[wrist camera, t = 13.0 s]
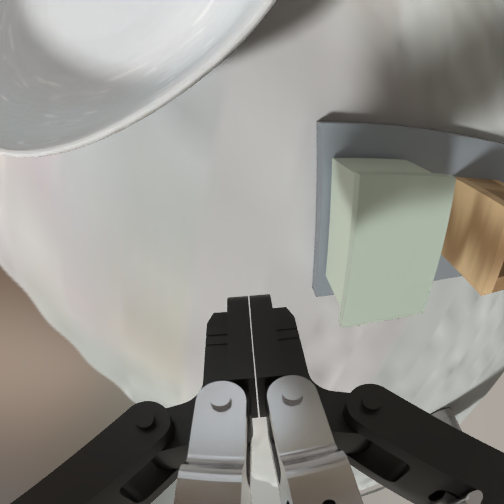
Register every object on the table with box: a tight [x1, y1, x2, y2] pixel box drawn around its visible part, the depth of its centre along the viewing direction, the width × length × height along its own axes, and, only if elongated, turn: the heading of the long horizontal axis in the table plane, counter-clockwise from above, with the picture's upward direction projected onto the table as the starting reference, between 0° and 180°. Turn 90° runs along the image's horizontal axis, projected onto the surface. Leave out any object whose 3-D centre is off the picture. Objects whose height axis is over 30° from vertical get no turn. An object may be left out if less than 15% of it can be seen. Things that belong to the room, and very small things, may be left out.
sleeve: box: [441, 177, 504, 296], centre depth 16 cm, size 6×6×6 cm
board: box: [312, 121, 504, 297], centre depth 17 cm, size 12×18×6 cm, turn 93°
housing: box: [326, 158, 456, 328], centre depth 16 cm, size 9×6×5 cm, turn 3°
